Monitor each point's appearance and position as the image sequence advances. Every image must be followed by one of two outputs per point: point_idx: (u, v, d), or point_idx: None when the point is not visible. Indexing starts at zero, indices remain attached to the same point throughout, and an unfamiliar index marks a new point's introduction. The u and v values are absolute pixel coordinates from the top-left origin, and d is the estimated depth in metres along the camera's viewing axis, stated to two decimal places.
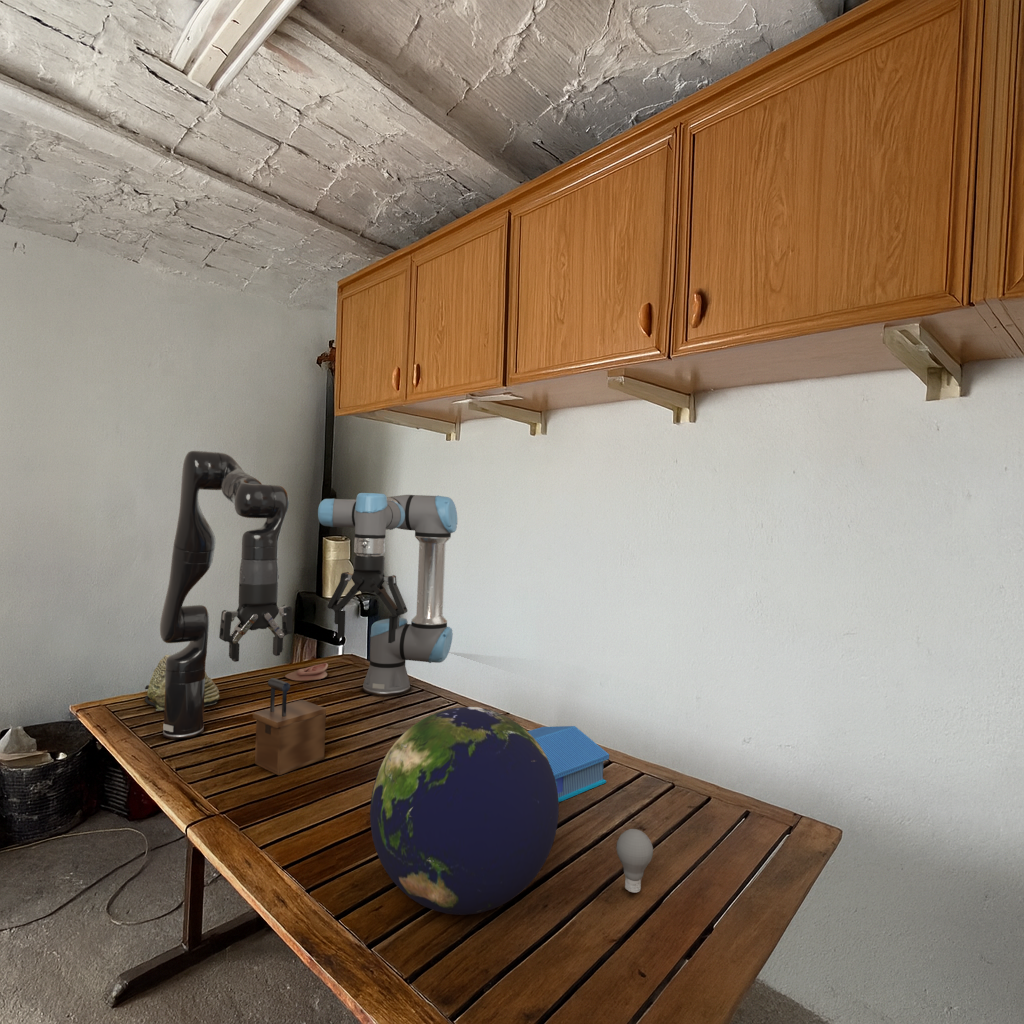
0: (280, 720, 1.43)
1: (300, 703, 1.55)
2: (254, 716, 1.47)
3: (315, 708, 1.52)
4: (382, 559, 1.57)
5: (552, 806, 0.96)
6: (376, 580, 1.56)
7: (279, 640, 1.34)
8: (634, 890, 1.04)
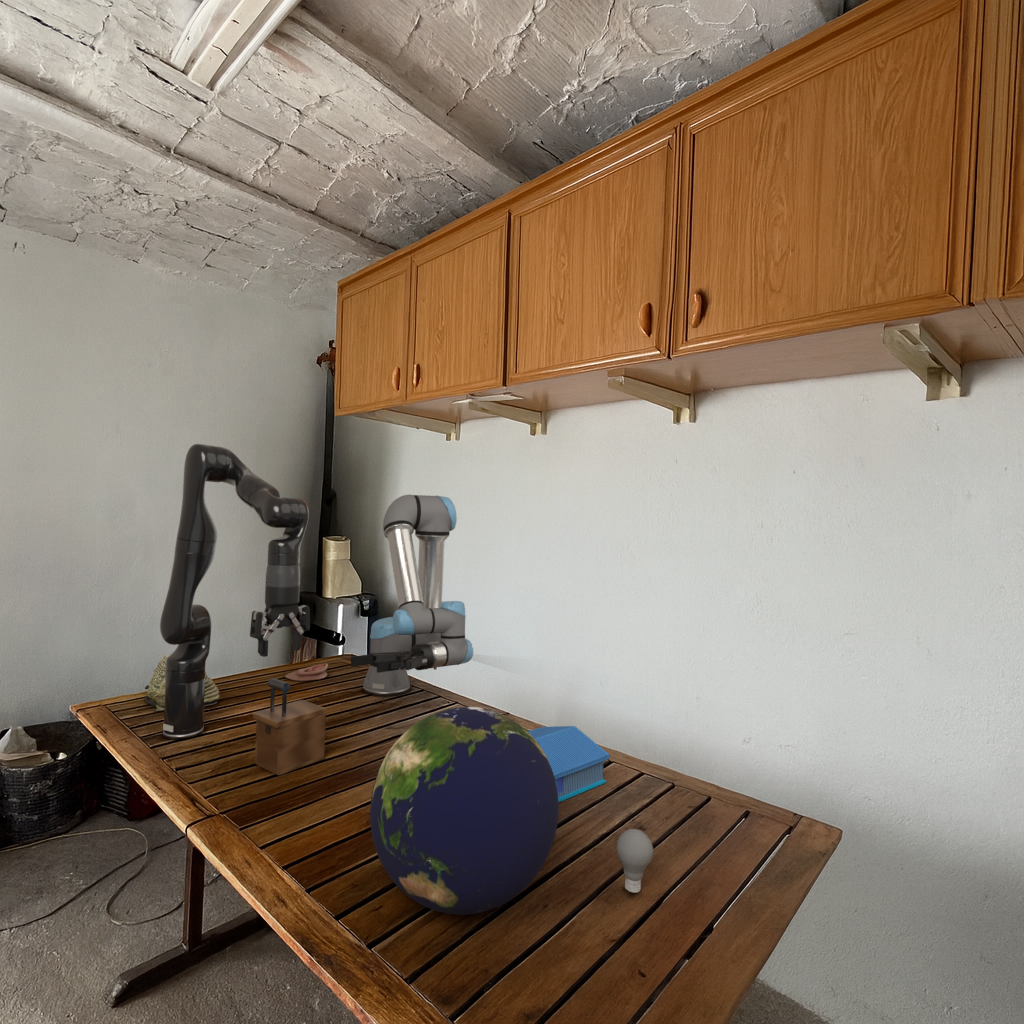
0: (280, 720, 1.43)
1: (300, 703, 1.55)
2: (254, 716, 1.47)
3: (315, 708, 1.52)
4: None
5: (552, 806, 0.96)
6: None
7: None
8: (634, 890, 1.04)
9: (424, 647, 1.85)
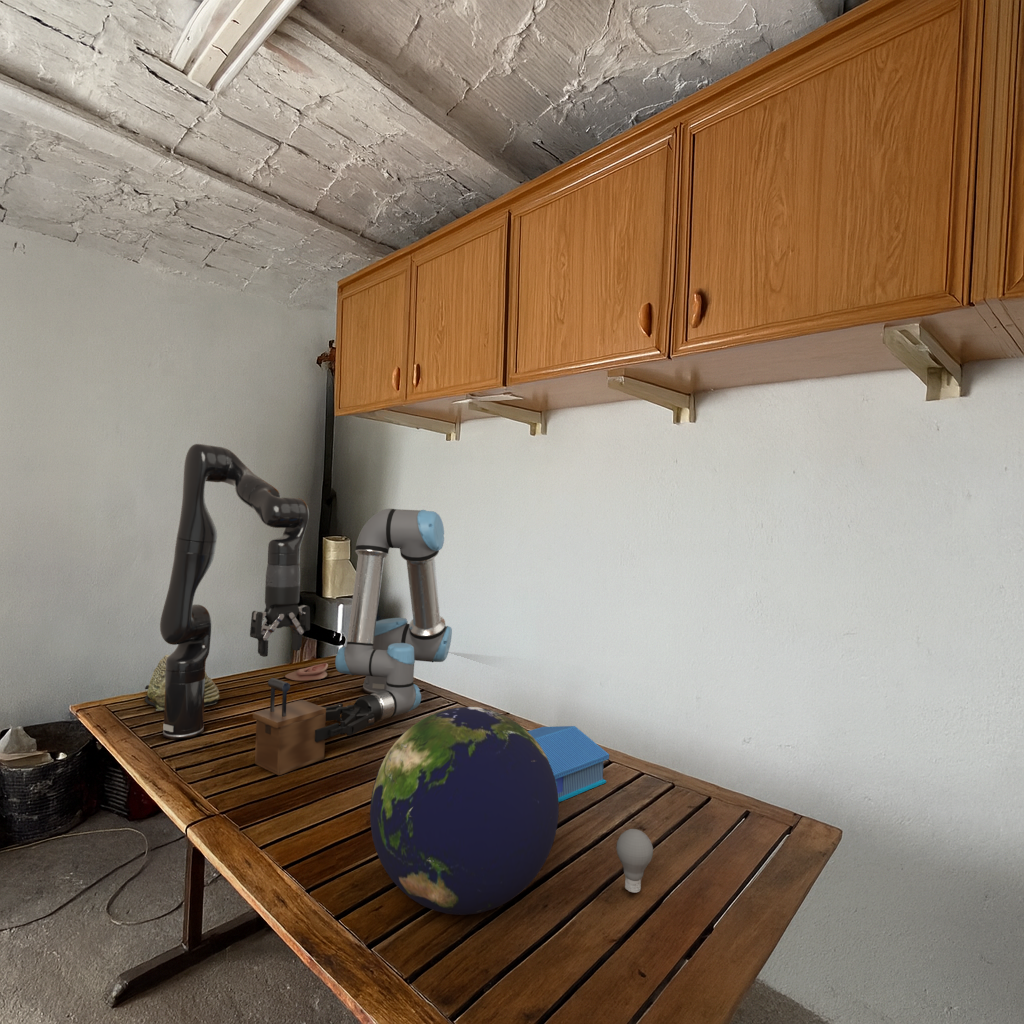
0: (280, 720, 1.43)
1: (299, 703, 1.55)
2: (254, 716, 1.47)
3: (315, 708, 1.52)
4: None
5: (552, 806, 0.96)
6: None
7: None
8: (634, 890, 1.04)
9: (371, 702, 1.67)
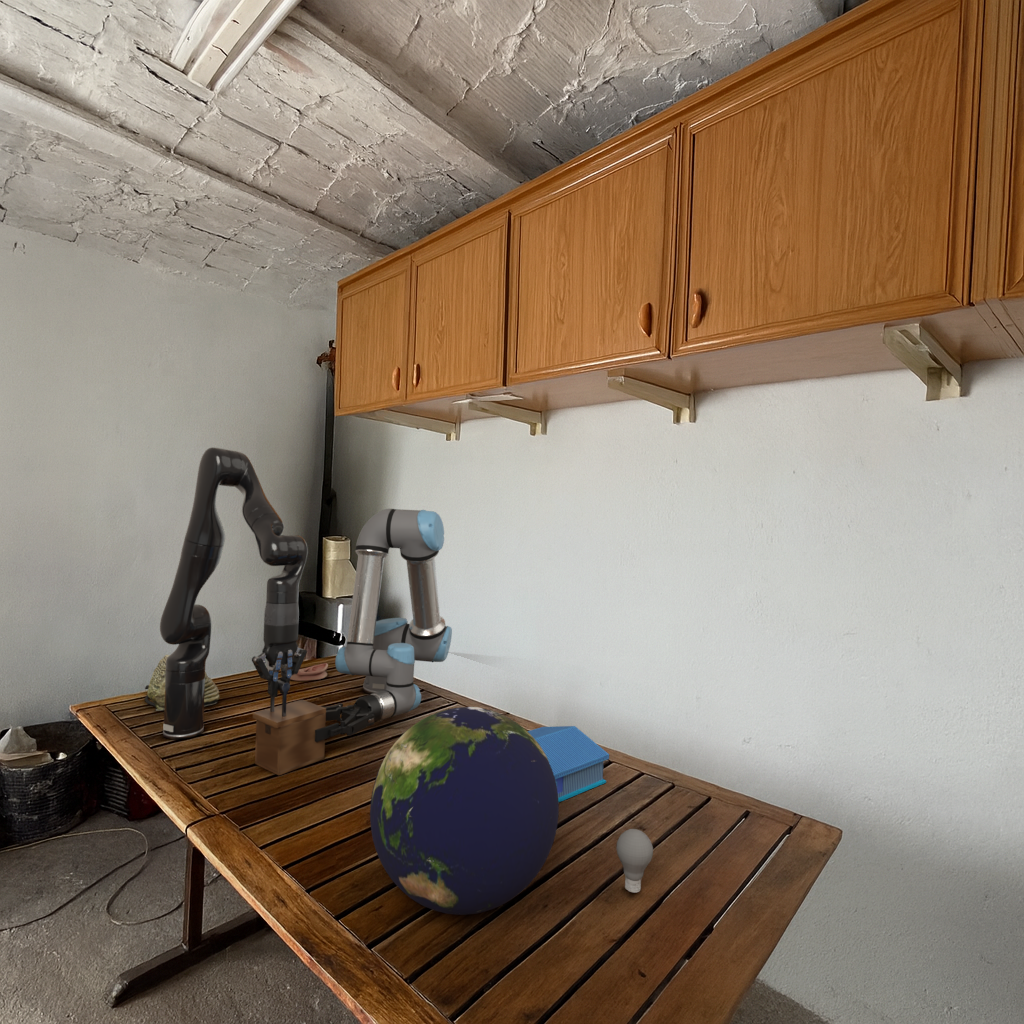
0: (280, 720, 1.43)
1: (300, 703, 1.55)
2: (254, 716, 1.47)
3: (315, 708, 1.52)
4: None
5: (552, 806, 0.96)
6: None
7: None
8: (634, 890, 1.04)
9: (371, 702, 1.67)
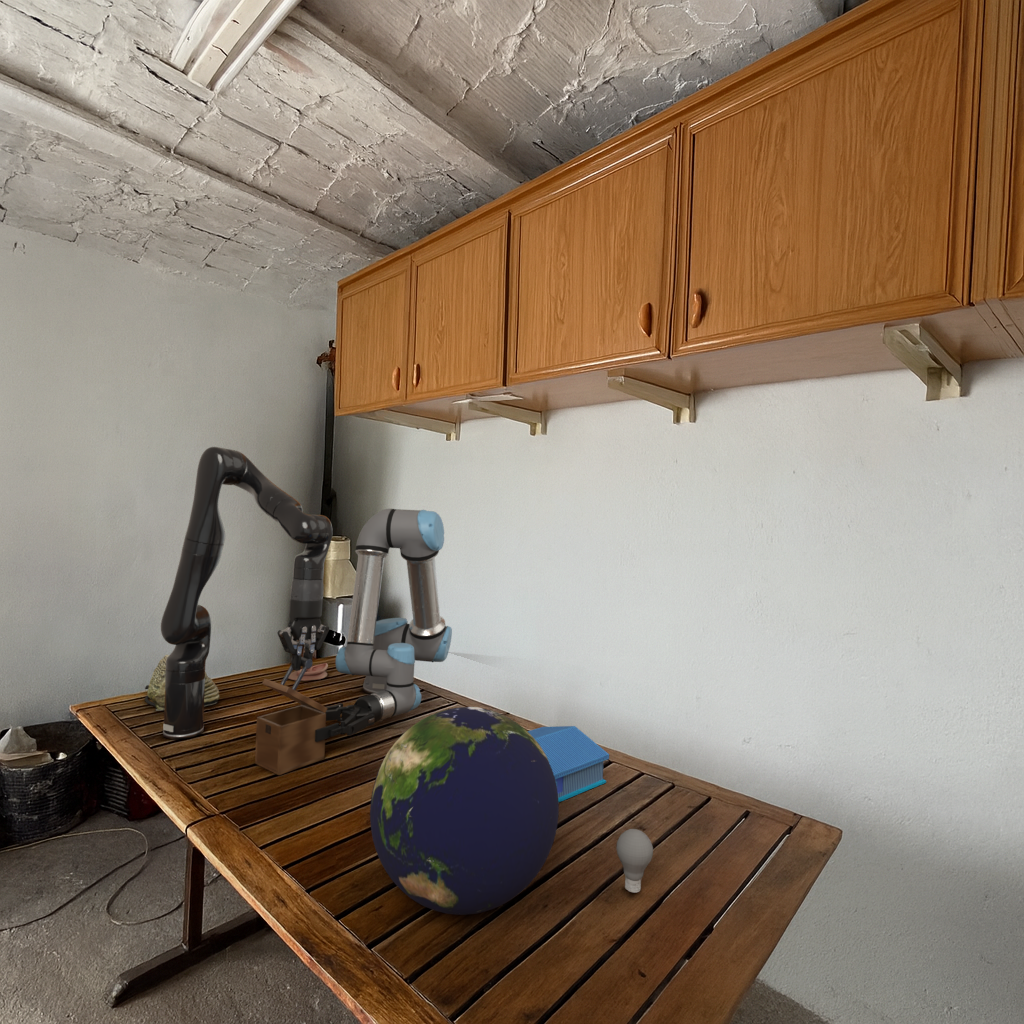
0: (291, 688, 1.45)
1: None
2: (264, 682, 1.49)
3: None
4: None
5: (552, 806, 0.96)
6: None
7: None
8: (634, 890, 1.04)
9: (371, 702, 1.68)
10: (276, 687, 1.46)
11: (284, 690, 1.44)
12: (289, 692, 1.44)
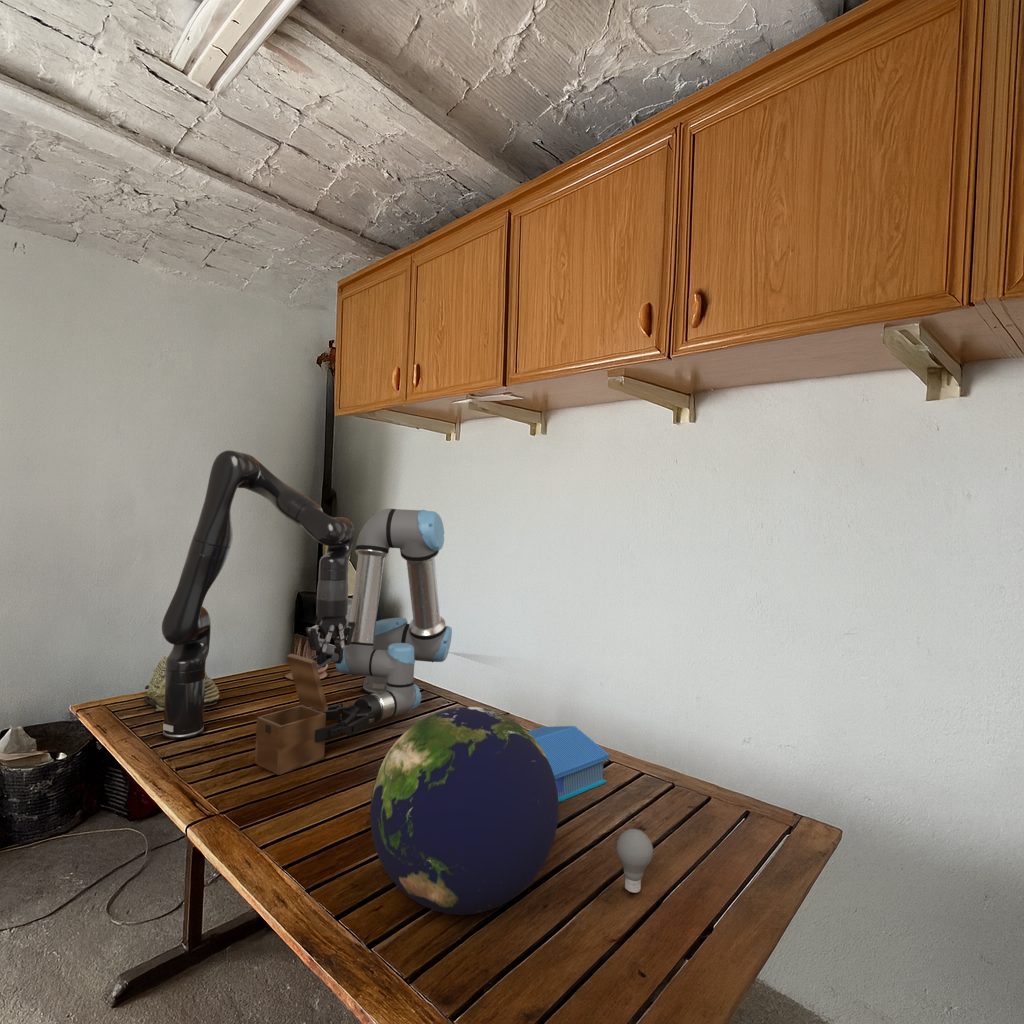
0: None
1: None
2: (290, 655, 1.54)
3: None
4: None
5: (552, 806, 0.96)
6: None
7: None
8: (634, 890, 1.04)
9: (371, 702, 1.68)
10: (301, 659, 1.51)
11: (309, 662, 1.49)
12: (312, 665, 1.49)
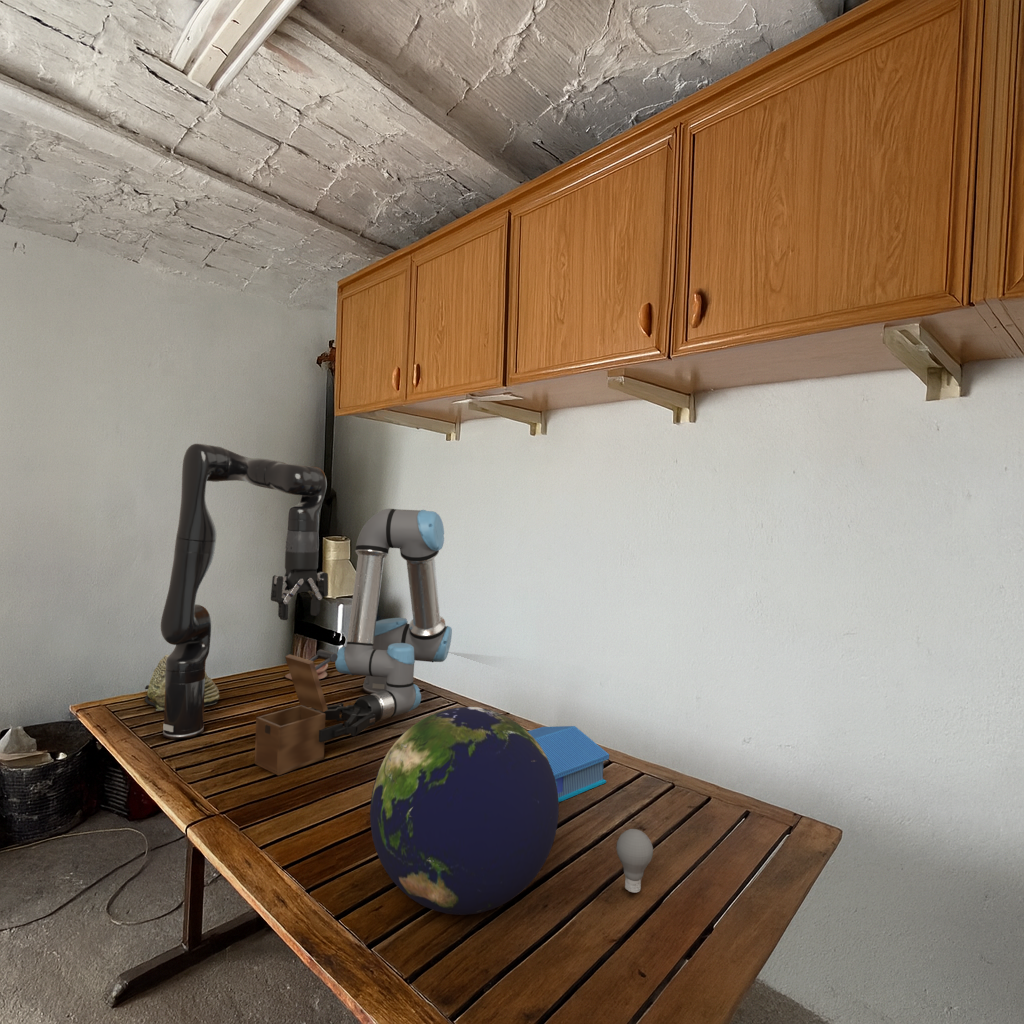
0: None
1: None
2: (288, 656, 1.54)
3: None
4: None
5: (552, 806, 0.96)
6: None
7: None
8: (634, 890, 1.04)
9: (371, 702, 1.67)
10: (300, 660, 1.51)
11: (307, 662, 1.49)
12: (311, 666, 1.49)
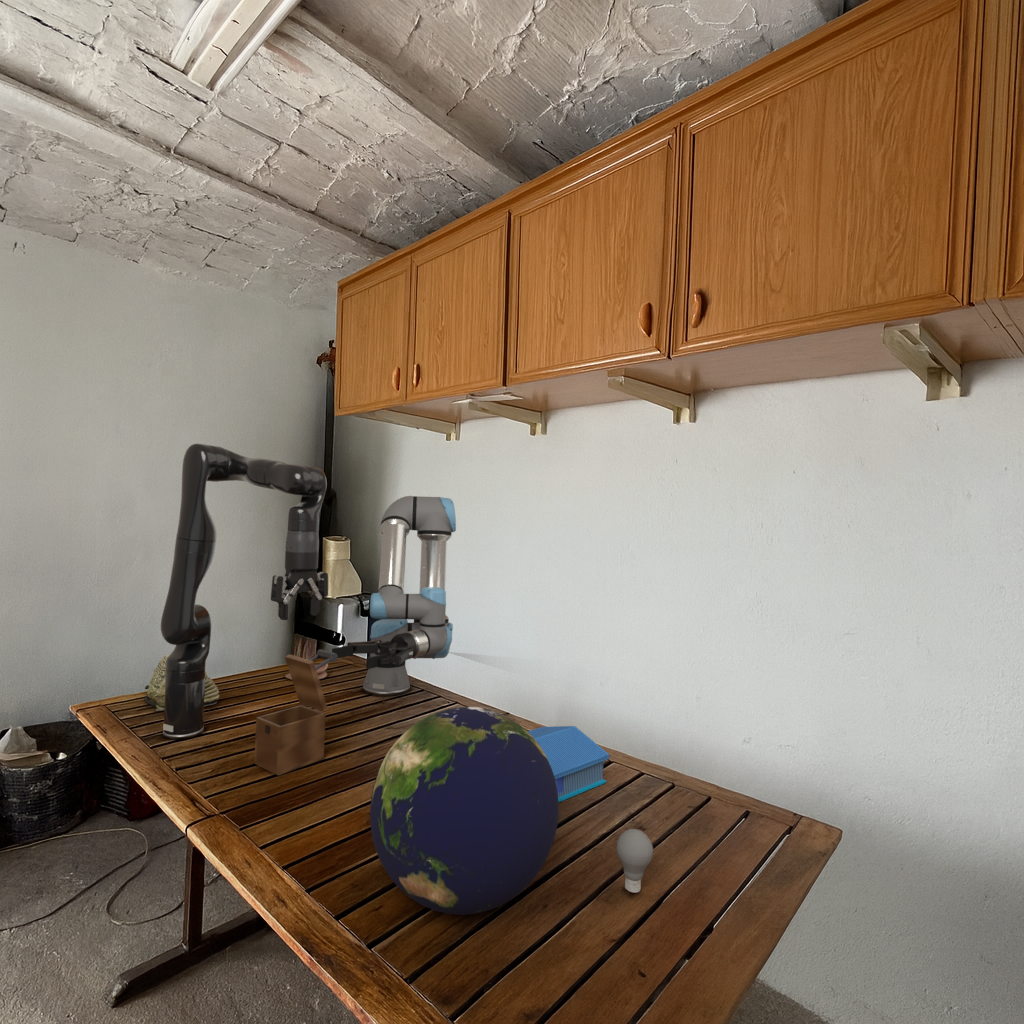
0: None
1: None
2: (288, 656, 1.54)
3: None
4: None
5: (552, 806, 0.96)
6: None
7: None
8: (634, 890, 1.04)
9: (407, 638, 1.77)
10: (299, 660, 1.51)
11: (307, 662, 1.49)
12: (311, 666, 1.49)
